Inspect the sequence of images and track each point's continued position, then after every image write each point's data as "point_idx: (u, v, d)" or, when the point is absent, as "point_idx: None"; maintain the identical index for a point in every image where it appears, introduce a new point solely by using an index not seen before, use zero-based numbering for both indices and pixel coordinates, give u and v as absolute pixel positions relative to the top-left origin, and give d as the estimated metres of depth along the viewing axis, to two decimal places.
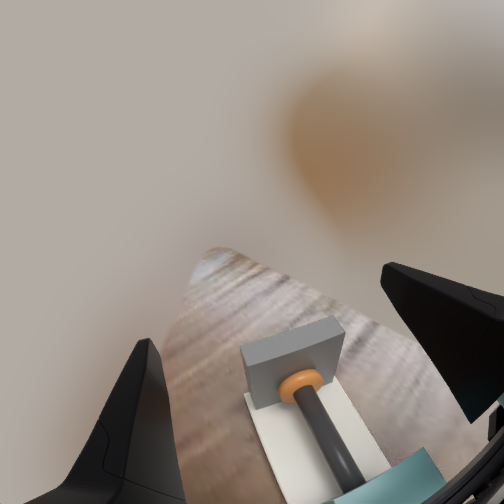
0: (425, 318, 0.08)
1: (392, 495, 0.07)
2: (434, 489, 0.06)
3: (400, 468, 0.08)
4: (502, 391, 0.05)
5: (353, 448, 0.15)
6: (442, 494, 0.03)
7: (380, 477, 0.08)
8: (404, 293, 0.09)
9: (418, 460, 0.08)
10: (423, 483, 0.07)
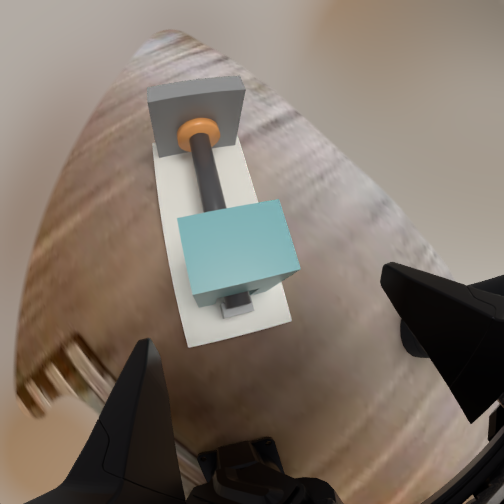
0: (425, 318, 0.08)
1: (233, 235, 0.12)
2: (280, 251, 0.13)
3: (249, 209, 0.13)
4: (502, 391, 0.05)
5: None
6: (442, 494, 0.03)
7: (226, 210, 0.13)
8: (404, 293, 0.09)
9: (269, 210, 0.13)
10: (268, 237, 0.13)
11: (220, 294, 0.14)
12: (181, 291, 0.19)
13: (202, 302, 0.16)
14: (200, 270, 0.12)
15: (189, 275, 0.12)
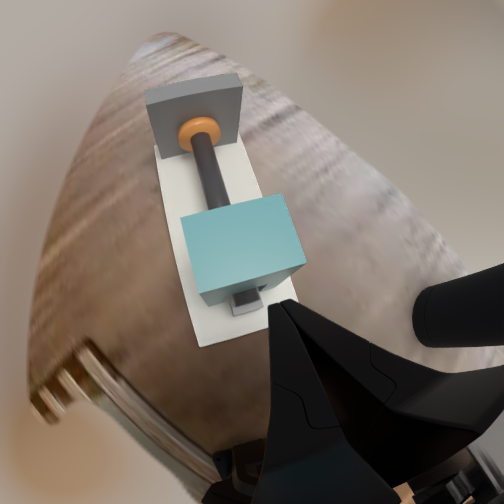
0: (317, 373, 0.07)
1: (238, 231, 0.12)
2: (285, 245, 0.12)
3: (252, 204, 0.13)
4: (403, 481, 0.04)
5: None
6: (442, 494, 0.03)
7: (229, 207, 0.13)
8: None
9: (273, 204, 0.13)
10: (273, 231, 0.12)
11: (228, 292, 0.14)
12: (190, 291, 0.20)
13: (210, 301, 0.16)
14: (205, 268, 0.12)
15: (195, 274, 0.12)
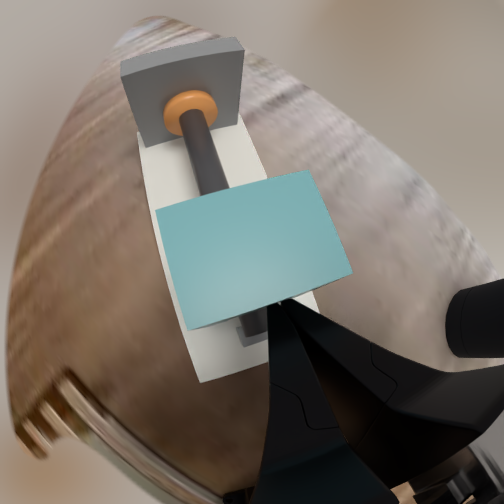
0: (318, 372, 0.07)
1: (246, 228, 0.08)
2: (320, 248, 0.08)
3: (266, 186, 0.08)
4: (404, 480, 0.04)
5: None
6: (442, 494, 0.03)
7: (230, 190, 0.08)
8: None
9: (297, 186, 0.08)
10: (301, 227, 0.08)
11: None
12: None
13: (209, 326, 0.11)
14: (197, 290, 0.07)
15: (180, 299, 0.07)
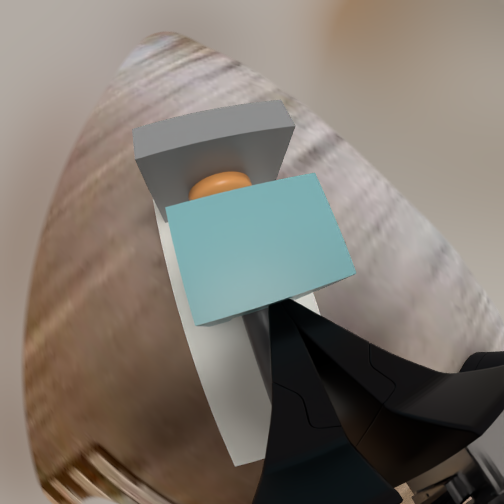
0: None
1: (254, 228, 0.08)
2: (325, 248, 0.08)
3: (273, 188, 0.08)
4: (402, 481, 0.04)
5: None
6: (442, 494, 0.03)
7: (239, 191, 0.08)
8: None
9: (304, 188, 0.09)
10: (307, 227, 0.08)
11: (237, 315, 0.10)
12: (220, 410, 0.14)
13: (212, 324, 0.11)
14: (205, 286, 0.07)
15: (188, 295, 0.07)
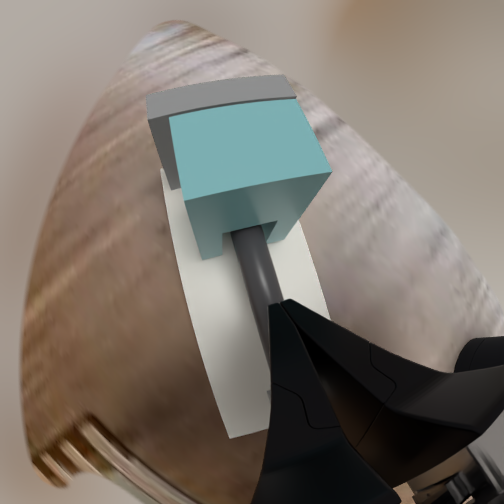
0: (317, 373, 0.07)
1: (241, 131, 0.09)
2: (303, 149, 0.09)
3: (259, 106, 0.09)
4: (403, 481, 0.04)
5: (284, 265, 0.16)
6: (442, 494, 0.03)
7: (231, 107, 0.09)
8: None
9: (285, 108, 0.09)
10: (287, 133, 0.09)
11: (225, 218, 0.10)
12: (217, 376, 0.14)
13: (203, 241, 0.12)
14: (196, 170, 0.08)
15: (180, 177, 0.08)
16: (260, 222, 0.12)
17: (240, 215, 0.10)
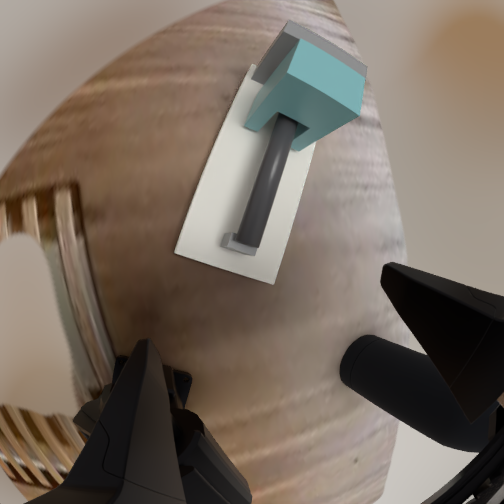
0: (425, 318, 0.08)
1: (330, 69, 0.13)
2: (352, 97, 0.14)
3: (345, 67, 0.13)
4: (502, 391, 0.05)
5: (288, 166, 0.21)
6: (442, 494, 0.03)
7: (332, 57, 0.13)
8: (404, 293, 0.09)
9: (357, 77, 0.14)
10: (349, 86, 0.13)
11: (289, 101, 0.15)
12: (200, 200, 0.19)
13: (263, 108, 0.16)
14: (299, 66, 0.12)
15: (291, 63, 0.12)
16: (301, 121, 0.17)
17: (298, 105, 0.15)
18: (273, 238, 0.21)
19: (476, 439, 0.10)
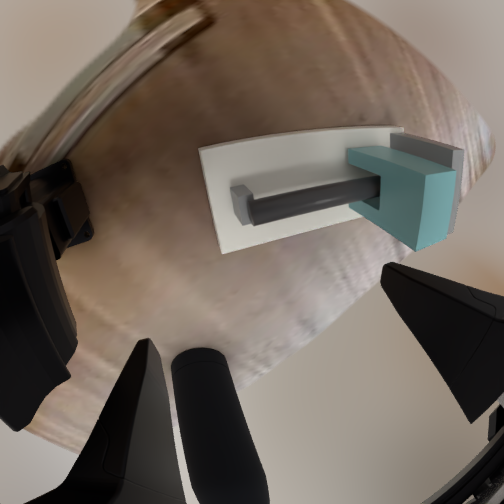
0: (425, 318, 0.08)
1: (441, 207, 0.14)
2: (427, 238, 0.15)
3: (448, 218, 0.15)
4: (502, 391, 0.05)
5: None
6: (442, 494, 0.03)
7: (451, 204, 0.14)
8: (404, 293, 0.09)
9: (443, 232, 0.15)
10: (434, 230, 0.15)
11: (397, 184, 0.15)
12: (261, 145, 0.18)
13: (376, 162, 0.16)
14: (434, 182, 0.13)
15: (433, 174, 0.12)
16: (382, 200, 0.17)
17: (396, 193, 0.15)
18: (262, 229, 0.21)
19: None
